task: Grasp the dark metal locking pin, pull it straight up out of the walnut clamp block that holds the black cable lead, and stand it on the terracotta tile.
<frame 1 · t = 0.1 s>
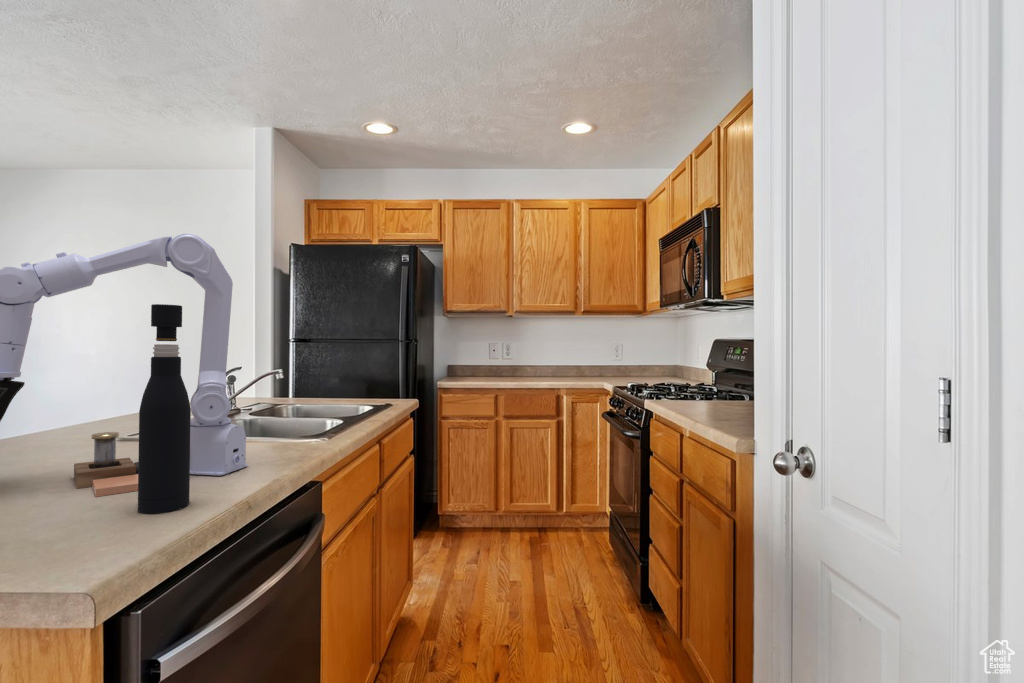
clamp block: (104, 479, 93), on the worktop
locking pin: (105, 456, 93), in the clamp block
tile pad: (120, 488, 88), on the worktop
black water bottle: (164, 508, 78), on the worktop
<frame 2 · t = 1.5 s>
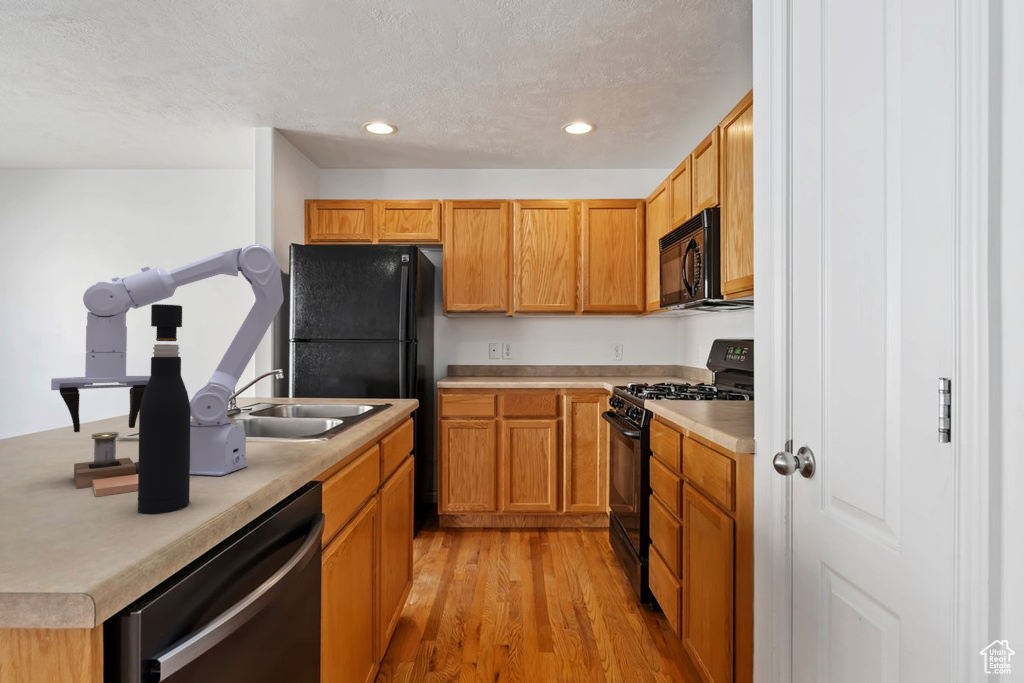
hand: (105, 429, 93), 9 cm above the worktop, tool pointing down, fingers open, 7 cm apart
nothing on the worktop moved.
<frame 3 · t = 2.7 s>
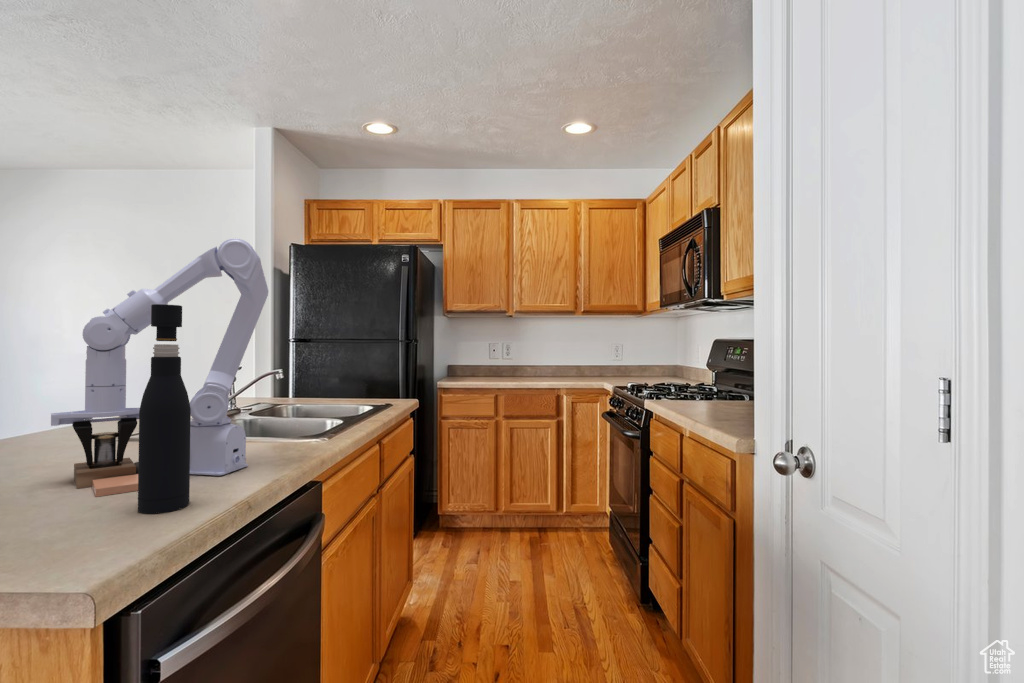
hand: (104, 462, 93), 3 cm above the worktop, tool pointing down, fingers closed on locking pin, 4 cm apart
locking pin: (104, 456, 93), in the clamp block, touching gripper
everything else where it was.
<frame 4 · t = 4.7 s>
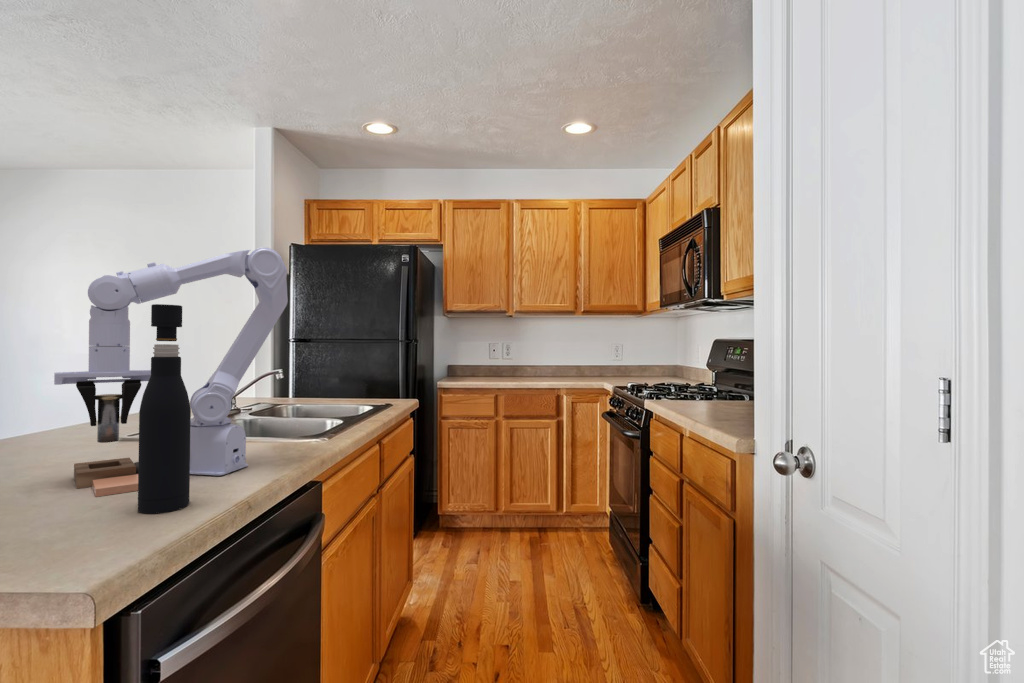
hand: (108, 424, 92), 10 cm above the worktop, tool pointing down, fingers closed on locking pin, 4 cm apart
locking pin: (108, 418, 92), point 11 cm above the worktop, touching gripper
everything else where it was.
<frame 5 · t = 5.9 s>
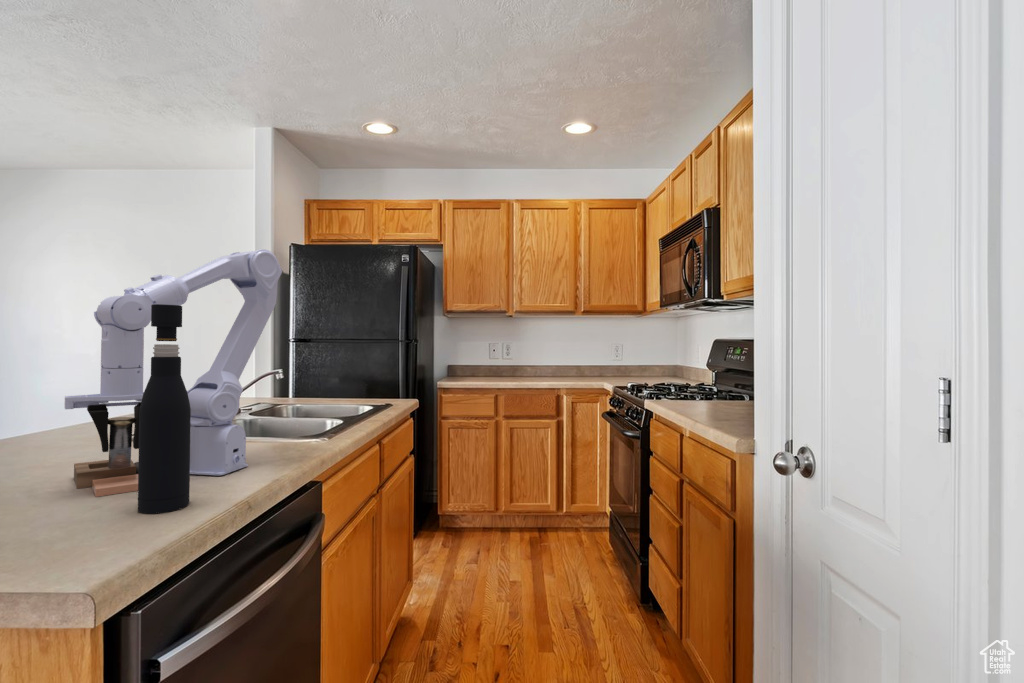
hand: (121, 449, 88), 6 cm above the worktop, tool pointing down, fingers closed on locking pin, 4 cm apart
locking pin: (120, 442, 88), point 8 cm above the worktop, touching gripper
everything else where it was.
when the fingers open (5 cm above the worktop, at t = 6.6 s): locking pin moves 1 cm, resting on tile pad.
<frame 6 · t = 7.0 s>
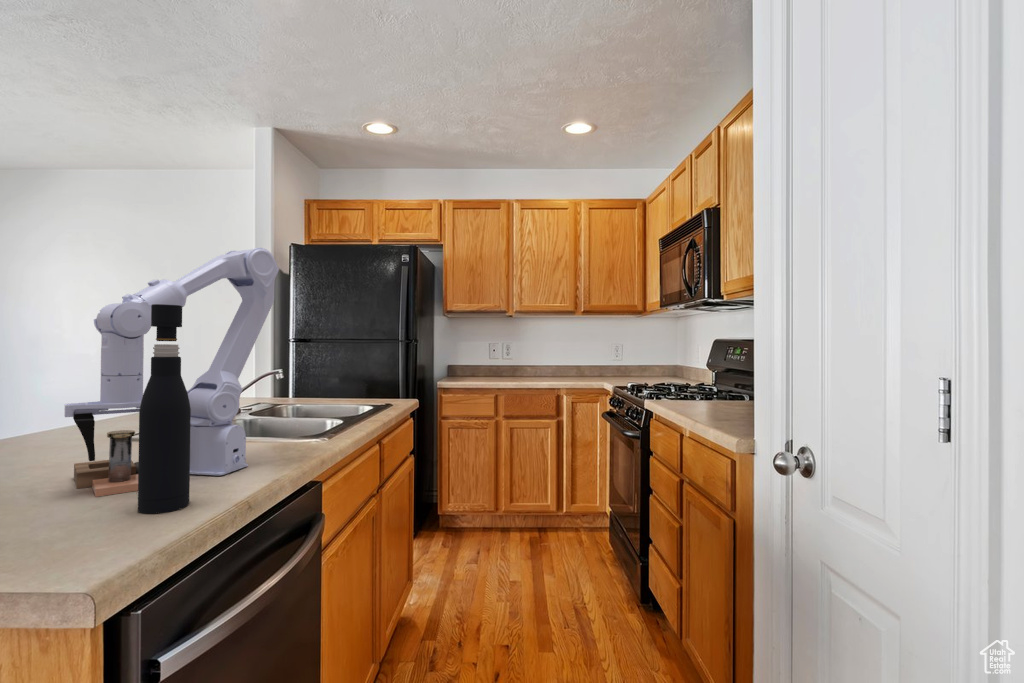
hand: (121, 456, 88), 5 cm above the worktop, tool pointing down, fingers open, 7 cm apart
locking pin: (120, 456, 88), on the tile pad, point 5 cm above the worktop
everything else where it was.
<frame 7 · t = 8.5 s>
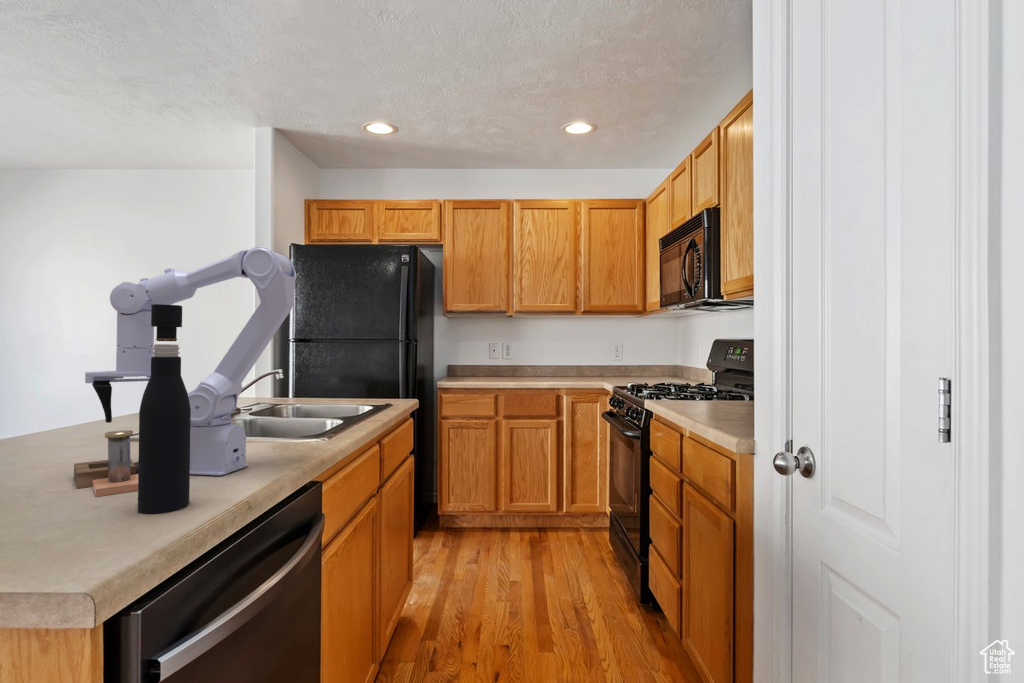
hand: (134, 420, 99), 9 cm above the worktop, tool pointing down, fingers open, 7 cm apart
nothing on the worktop moved.
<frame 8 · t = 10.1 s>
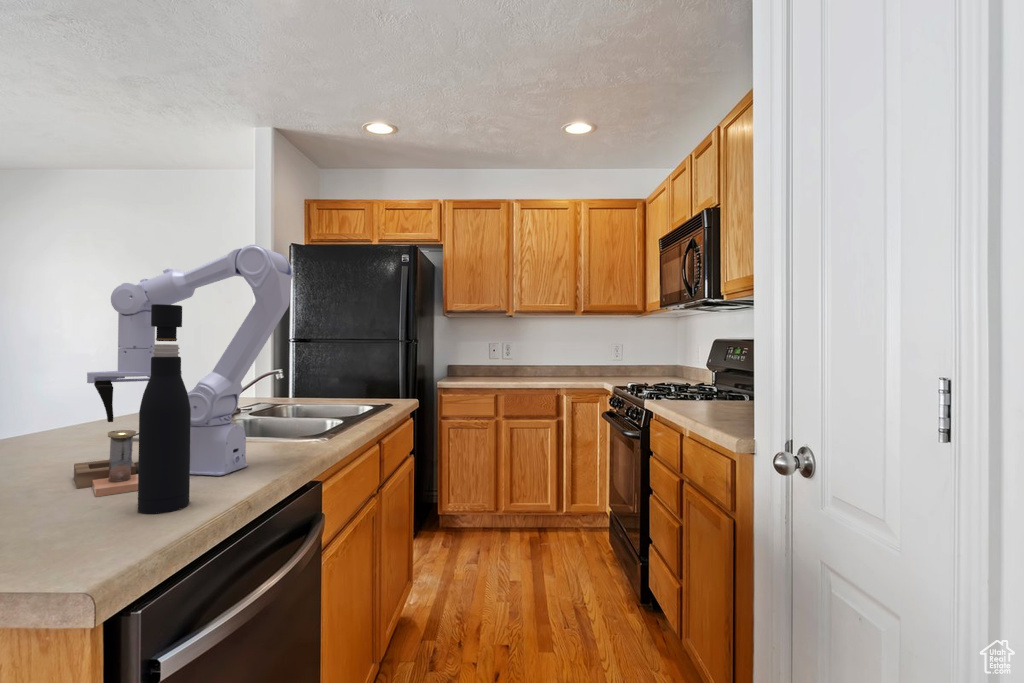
hand: (135, 419, 100), 9 cm above the worktop, tool pointing down, fingers open, 7 cm apart
nothing on the worktop moved.
at the end: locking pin 0.6 cm off-centre on the tile pad, point 5.3 cm above the tile pad's base; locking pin tilted 3°; the gripper is holding nothing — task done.
